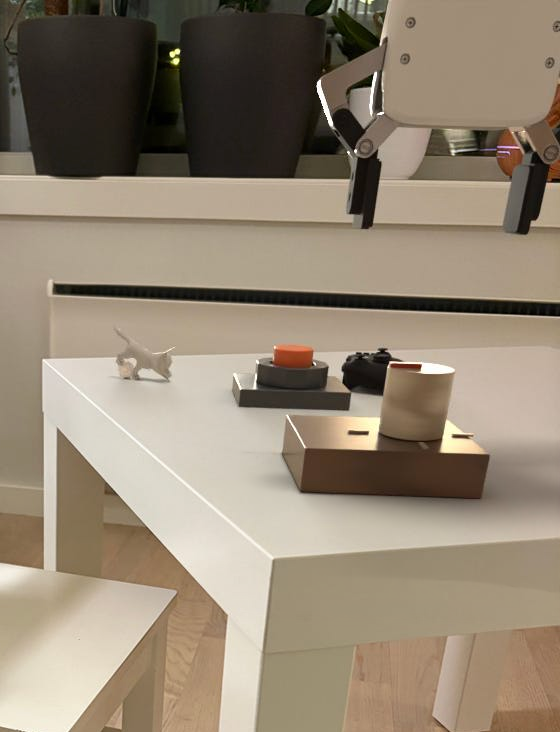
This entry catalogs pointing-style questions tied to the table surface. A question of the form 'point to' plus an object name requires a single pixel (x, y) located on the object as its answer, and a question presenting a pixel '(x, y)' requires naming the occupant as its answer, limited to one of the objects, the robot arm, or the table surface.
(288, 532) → the table surface
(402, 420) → the dial
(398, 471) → the panel
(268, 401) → the button block
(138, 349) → the beige animal figurine
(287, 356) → the button
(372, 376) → the game controller
